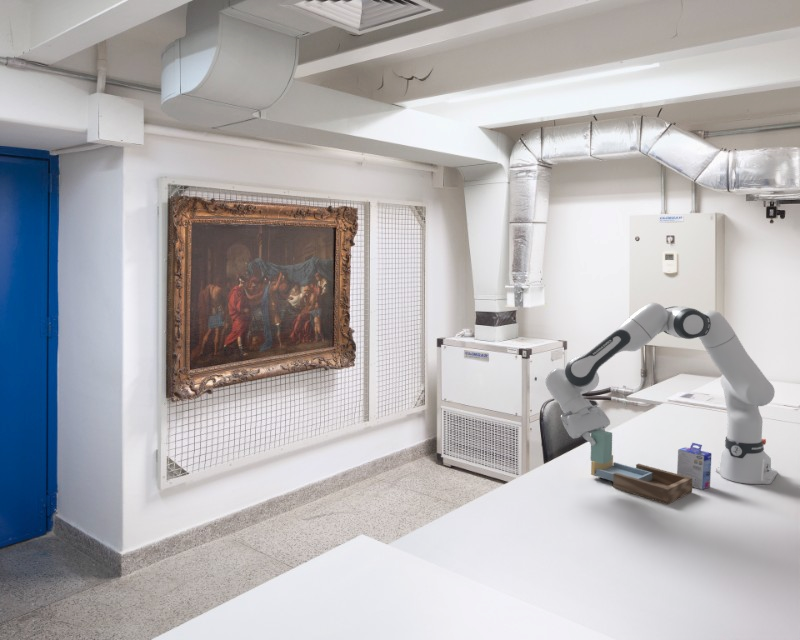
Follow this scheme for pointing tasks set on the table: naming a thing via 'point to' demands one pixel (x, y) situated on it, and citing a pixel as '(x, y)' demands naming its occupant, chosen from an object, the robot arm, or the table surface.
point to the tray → (618, 471)
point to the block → (601, 447)
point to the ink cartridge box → (695, 465)
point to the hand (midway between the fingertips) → (600, 442)
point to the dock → (655, 485)
